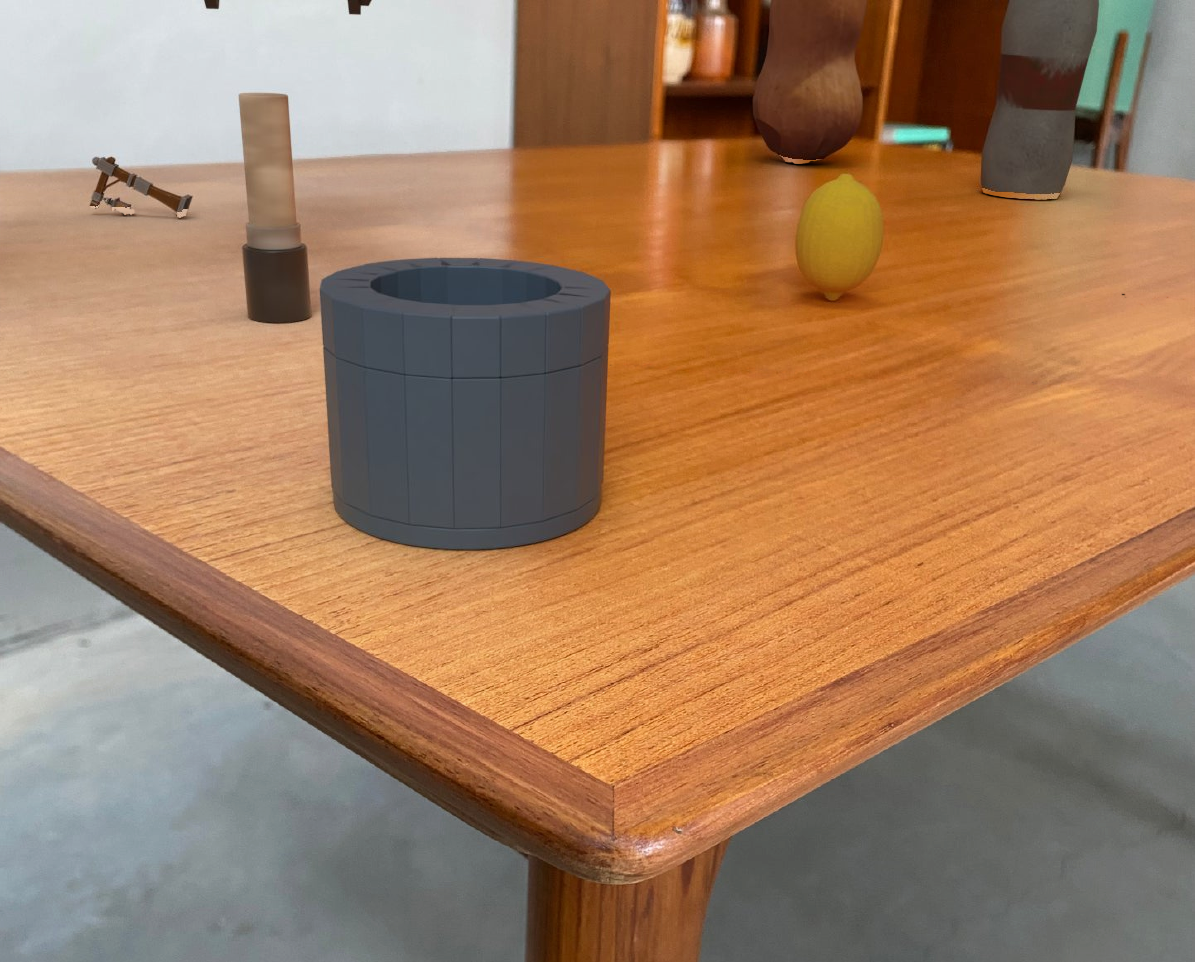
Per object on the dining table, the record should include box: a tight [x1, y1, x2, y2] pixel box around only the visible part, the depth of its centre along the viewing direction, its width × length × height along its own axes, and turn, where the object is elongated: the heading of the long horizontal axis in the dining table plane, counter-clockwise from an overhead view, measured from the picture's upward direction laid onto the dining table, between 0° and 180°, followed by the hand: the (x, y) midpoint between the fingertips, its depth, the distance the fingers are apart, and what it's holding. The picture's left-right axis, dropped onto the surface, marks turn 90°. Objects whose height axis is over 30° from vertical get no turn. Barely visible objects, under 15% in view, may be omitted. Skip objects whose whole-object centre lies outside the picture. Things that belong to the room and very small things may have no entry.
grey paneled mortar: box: [319, 257, 612, 551], centre depth 45 cm, size 10×10×8 cm
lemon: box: [794, 172, 884, 302], centre depth 80 cm, size 6×6×8 cm
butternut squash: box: [752, 0, 868, 160], centre depth 152 cm, size 14×13×25 cm
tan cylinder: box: [238, 92, 312, 324], centre depth 70 cm, size 4×4×12 cm
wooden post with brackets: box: [89, 156, 194, 213], centre depth 102 cm, size 2×8×4 cm, turn 89°
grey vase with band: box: [980, 0, 1100, 194], centre depth 129 cm, size 9×9×30 cm
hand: (282, 1), depth 75 cm, fingers open, 8 cm apart
